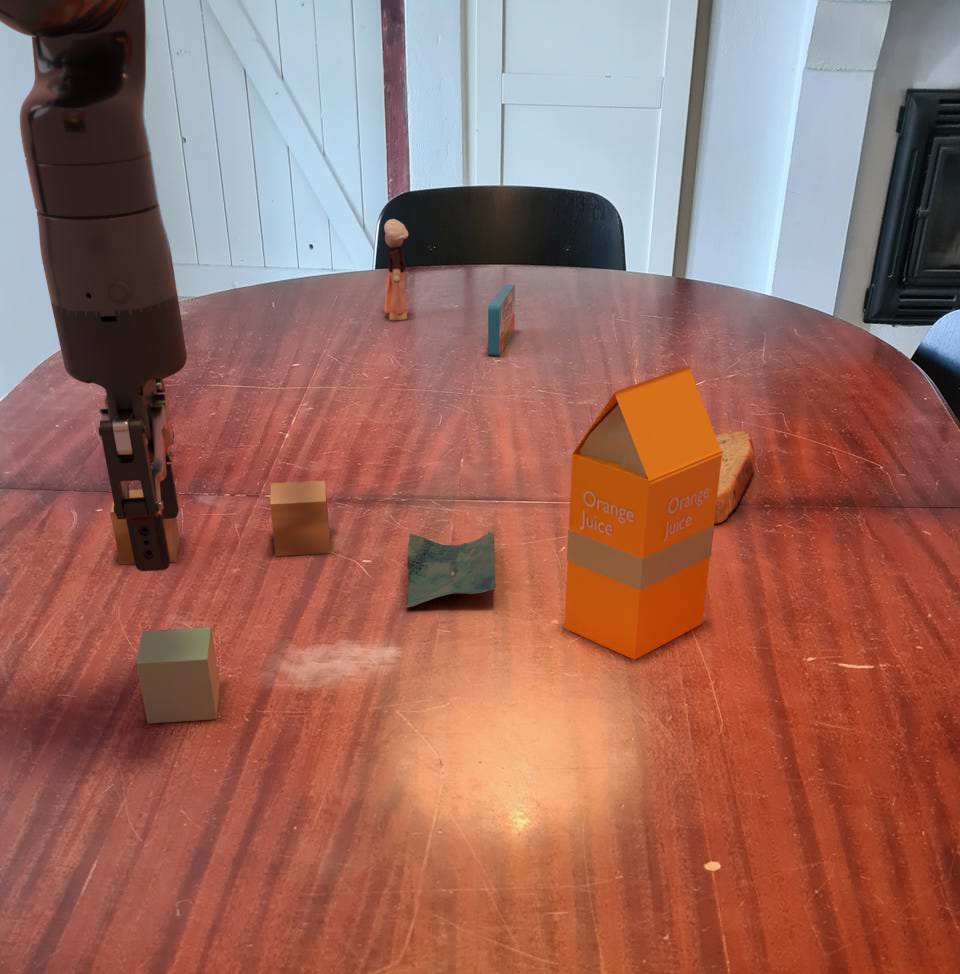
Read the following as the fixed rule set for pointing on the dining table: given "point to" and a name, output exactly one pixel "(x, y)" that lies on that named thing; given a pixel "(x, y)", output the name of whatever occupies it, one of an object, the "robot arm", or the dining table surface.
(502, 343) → the teal flat box
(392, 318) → the grandmother figurine
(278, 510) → the beech block right
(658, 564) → the orange juice
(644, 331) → the dining table surface
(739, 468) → the bread slice
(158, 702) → the sage block
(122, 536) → the beech block left
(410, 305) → the dining table surface
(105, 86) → the robot arm
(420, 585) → the terrain model
